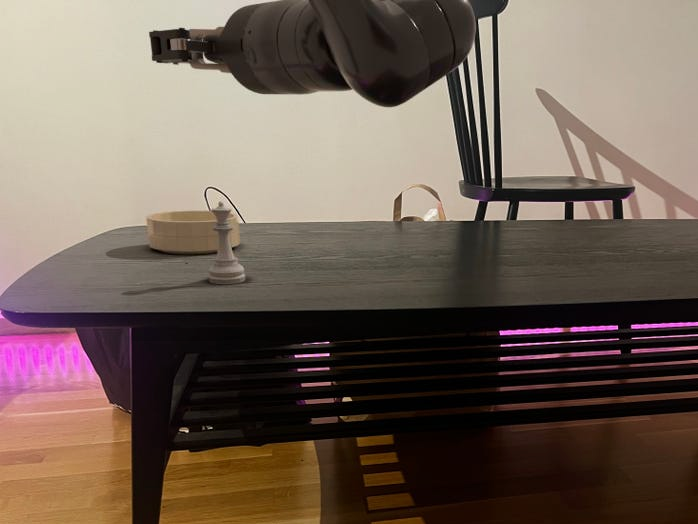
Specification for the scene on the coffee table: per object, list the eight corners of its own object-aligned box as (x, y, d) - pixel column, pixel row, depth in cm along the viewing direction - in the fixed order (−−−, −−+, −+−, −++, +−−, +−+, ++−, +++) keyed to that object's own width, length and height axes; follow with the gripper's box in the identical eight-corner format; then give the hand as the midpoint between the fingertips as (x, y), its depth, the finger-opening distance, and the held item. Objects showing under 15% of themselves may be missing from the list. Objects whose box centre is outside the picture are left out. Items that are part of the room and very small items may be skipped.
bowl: (171, 259, 101) (168, 224, 100) (136, 246, 110) (132, 213, 108) (255, 249, 110) (253, 217, 109) (216, 238, 119) (213, 208, 117)
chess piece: (249, 277, 92) (243, 200, 89) (240, 285, 88) (233, 204, 84) (215, 276, 92) (208, 199, 88) (204, 284, 87) (196, 203, 84)
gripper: (351, 12, 65) (262, 23, 76) (202, -12, 55) (124, 5, 66) (353, 98, 67) (266, 97, 78) (211, 90, 58) (134, 90, 68)
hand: (201, 55), depth 72 cm, fingers open, 8 cm apart
